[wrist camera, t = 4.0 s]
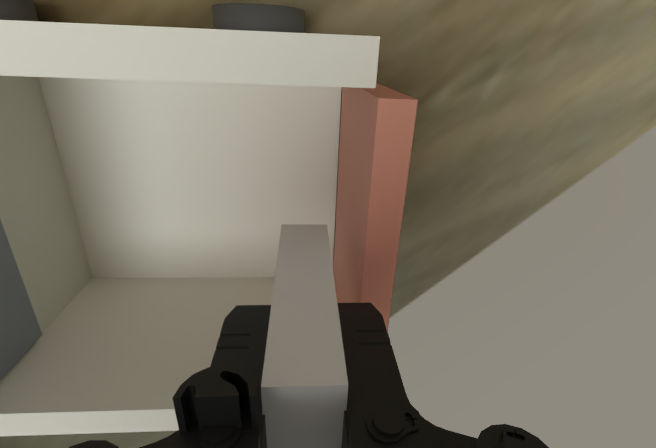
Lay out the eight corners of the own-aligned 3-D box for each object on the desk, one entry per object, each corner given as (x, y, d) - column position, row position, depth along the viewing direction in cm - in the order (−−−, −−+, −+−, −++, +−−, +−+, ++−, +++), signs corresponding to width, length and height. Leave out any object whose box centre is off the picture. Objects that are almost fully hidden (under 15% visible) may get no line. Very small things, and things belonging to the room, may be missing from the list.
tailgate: (354, 278, 22) (384, 410, 14) (333, 279, 22) (350, 411, 14) (370, 77, 17) (429, 100, 9) (342, 77, 17) (378, 98, 9)
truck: (326, 277, 27) (350, 500, 14) (25, 278, 26) (-283, 529, 12) (337, 16, 20) (408, -55, 7) (-76, -3, 19) (-1063, -146, 5)
